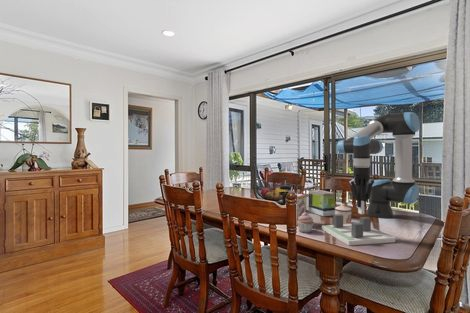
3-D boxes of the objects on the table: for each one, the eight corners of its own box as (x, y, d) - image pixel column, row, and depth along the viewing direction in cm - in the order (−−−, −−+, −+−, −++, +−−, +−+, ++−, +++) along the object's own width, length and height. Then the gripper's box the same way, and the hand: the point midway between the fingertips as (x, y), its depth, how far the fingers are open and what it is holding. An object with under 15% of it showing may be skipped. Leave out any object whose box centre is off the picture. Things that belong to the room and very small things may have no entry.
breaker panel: (361, 226, 149) (361, 223, 149) (395, 242, 125) (395, 237, 125) (321, 229, 144) (321, 225, 144) (348, 245, 121) (348, 240, 121)
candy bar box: (296, 226, 150) (296, 197, 149) (288, 224, 153) (288, 195, 153) (306, 222, 158) (307, 194, 157) (299, 220, 161) (299, 193, 161)
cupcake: (309, 235, 135) (309, 215, 134) (292, 231, 141) (292, 212, 141) (317, 230, 142) (317, 212, 141) (301, 227, 148) (301, 209, 148)
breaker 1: (339, 225, 143) (340, 214, 143) (343, 226, 140) (343, 215, 140) (332, 225, 143) (333, 214, 142) (336, 227, 140) (336, 215, 139)
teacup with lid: (349, 227, 148) (350, 206, 148) (332, 224, 153) (332, 204, 153) (354, 222, 158) (354, 202, 157) (338, 219, 163) (338, 200, 163)
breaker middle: (366, 228, 137) (366, 217, 137) (370, 230, 134) (370, 218, 134) (359, 229, 137) (359, 217, 136) (363, 230, 134) (363, 218, 134)
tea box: (335, 215, 174) (335, 192, 173) (322, 217, 170) (323, 193, 169) (319, 210, 188) (319, 189, 187) (307, 211, 184) (308, 190, 183)
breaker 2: (358, 234, 128) (359, 222, 127) (363, 236, 125) (363, 224, 125) (351, 235, 127) (351, 222, 127) (355, 237, 124) (355, 224, 124)
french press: (279, 207, 196) (280, 176, 195) (292, 208, 193) (293, 176, 192) (276, 211, 185) (276, 177, 184) (290, 212, 182) (290, 178, 181)
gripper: (368, 165, 139) (367, 210, 140) (345, 166, 136) (345, 212, 138) (378, 166, 131) (377, 214, 133) (354, 167, 129) (354, 216, 130)
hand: (361, 213), depth 135 cm, fingers closed
